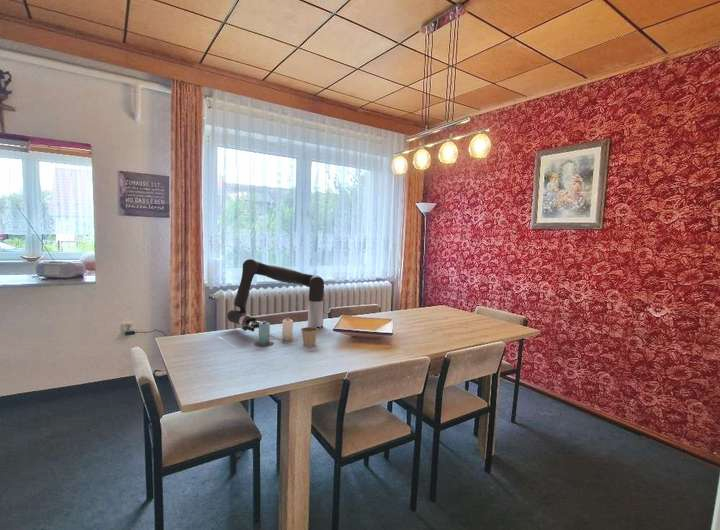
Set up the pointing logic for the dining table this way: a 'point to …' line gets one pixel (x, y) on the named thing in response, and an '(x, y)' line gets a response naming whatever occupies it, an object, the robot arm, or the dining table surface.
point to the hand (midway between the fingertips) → (261, 328)
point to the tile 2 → (287, 341)
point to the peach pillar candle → (287, 329)
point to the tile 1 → (270, 337)
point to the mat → (264, 345)
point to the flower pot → (309, 335)
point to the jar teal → (264, 333)
